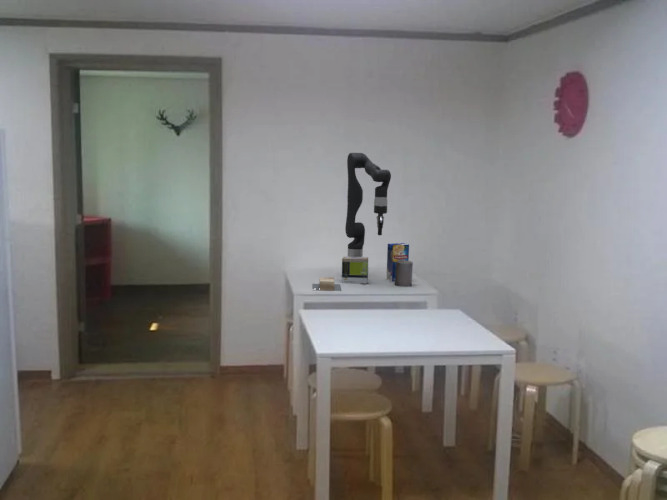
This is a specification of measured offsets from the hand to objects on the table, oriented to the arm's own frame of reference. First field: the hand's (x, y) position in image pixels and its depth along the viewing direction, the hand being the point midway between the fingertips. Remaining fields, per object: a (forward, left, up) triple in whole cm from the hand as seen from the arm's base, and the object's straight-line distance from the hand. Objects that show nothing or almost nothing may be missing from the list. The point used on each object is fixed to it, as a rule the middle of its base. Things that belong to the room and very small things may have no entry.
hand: (379, 235), depth 413 cm
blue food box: (-17, +13, -29) cm, 36 cm away
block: (+8, -30, -26) cm, 41 cm away
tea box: (-8, -13, -29) cm, 33 cm away
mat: (+11, -30, -29) cm, 43 cm away
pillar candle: (-2, +15, -29) cm, 33 cm away
